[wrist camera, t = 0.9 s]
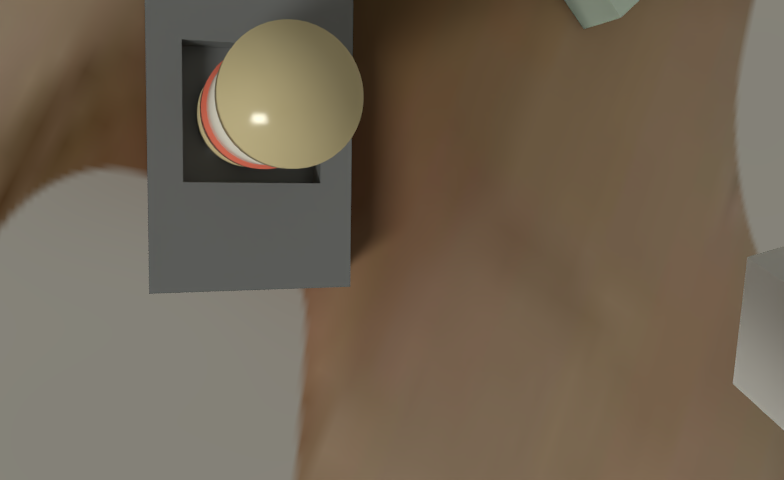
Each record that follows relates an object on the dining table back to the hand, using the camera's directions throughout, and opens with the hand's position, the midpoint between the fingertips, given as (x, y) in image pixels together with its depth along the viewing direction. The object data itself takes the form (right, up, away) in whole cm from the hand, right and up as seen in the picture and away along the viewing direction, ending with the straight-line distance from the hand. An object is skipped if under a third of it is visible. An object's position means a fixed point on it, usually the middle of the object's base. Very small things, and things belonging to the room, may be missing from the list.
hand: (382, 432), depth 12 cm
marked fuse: (-6, +8, +19) cm, 21 cm away
